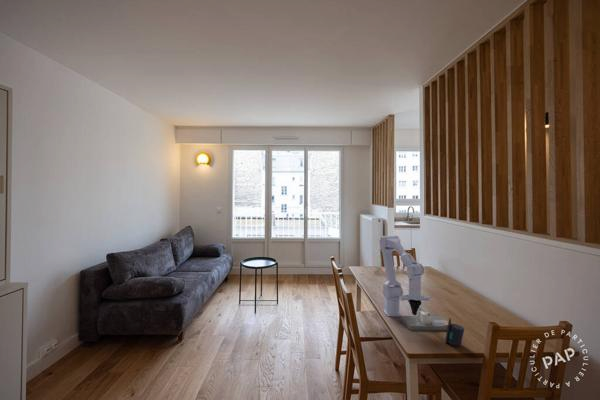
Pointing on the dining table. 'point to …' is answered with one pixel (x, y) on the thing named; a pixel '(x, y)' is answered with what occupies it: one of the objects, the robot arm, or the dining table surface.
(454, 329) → the speaker
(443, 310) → the dining table surface
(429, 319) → the plug
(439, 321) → the power strip
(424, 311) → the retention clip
